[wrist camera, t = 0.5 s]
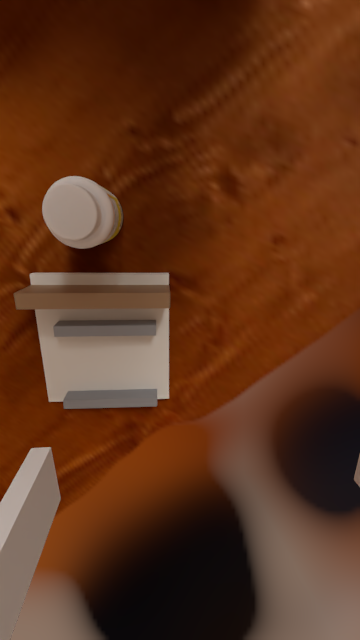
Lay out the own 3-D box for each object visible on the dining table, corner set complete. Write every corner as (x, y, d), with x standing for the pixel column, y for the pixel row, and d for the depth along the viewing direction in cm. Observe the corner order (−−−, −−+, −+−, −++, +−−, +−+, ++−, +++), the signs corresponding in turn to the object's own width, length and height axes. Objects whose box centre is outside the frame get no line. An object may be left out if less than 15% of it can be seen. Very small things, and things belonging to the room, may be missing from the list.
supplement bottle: (59, 210, 30) (12, 204, 21) (99, 175, 30) (70, 151, 20) (96, 253, 32) (68, 266, 22) (135, 221, 31) (124, 220, 21)
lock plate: (33, 272, 32) (11, 280, 27) (168, 272, 33) (170, 280, 28) (51, 397, 37) (35, 422, 32) (168, 394, 38) (170, 418, 33)
